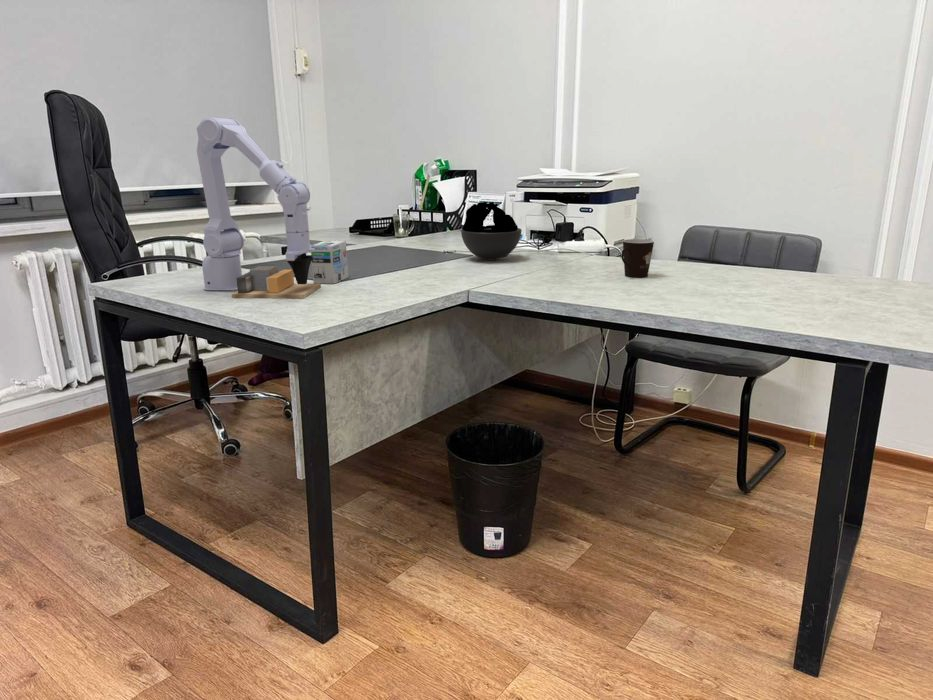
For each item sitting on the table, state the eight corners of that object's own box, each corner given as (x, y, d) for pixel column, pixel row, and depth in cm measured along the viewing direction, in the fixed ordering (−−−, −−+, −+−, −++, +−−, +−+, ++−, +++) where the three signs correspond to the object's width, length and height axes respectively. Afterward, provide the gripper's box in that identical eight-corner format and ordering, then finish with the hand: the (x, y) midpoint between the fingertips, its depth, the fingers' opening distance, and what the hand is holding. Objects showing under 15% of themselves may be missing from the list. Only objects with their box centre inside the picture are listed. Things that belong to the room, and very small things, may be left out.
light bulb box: (335, 284, 183) (332, 245, 180) (312, 283, 185) (309, 245, 181) (349, 277, 193) (346, 240, 190) (327, 276, 195) (324, 240, 191)
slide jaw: (266, 292, 168) (265, 277, 167) (283, 283, 179) (282, 269, 178) (278, 292, 167) (276, 277, 166) (294, 283, 179) (292, 269, 178)
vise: (231, 297, 168) (229, 278, 166) (253, 286, 181) (251, 268, 180) (303, 298, 166) (302, 278, 165) (320, 287, 179) (319, 269, 178)
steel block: (251, 291, 171) (249, 270, 169) (260, 286, 176) (258, 266, 175) (270, 291, 170) (268, 270, 169) (279, 286, 176) (276, 266, 174)
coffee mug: (640, 272, 194) (643, 238, 191) (657, 277, 186) (660, 242, 184) (606, 275, 191) (607, 240, 188) (621, 280, 183) (623, 244, 180)
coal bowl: (475, 253, 233) (474, 199, 227) (529, 256, 225) (529, 200, 220) (451, 262, 215) (450, 204, 210) (509, 266, 208) (509, 205, 202)
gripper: (303, 235, 161) (308, 289, 165) (321, 228, 175) (325, 278, 179) (275, 235, 162) (280, 289, 166) (295, 228, 176) (300, 278, 179)
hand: (302, 283), depth 172 cm, fingers closed
